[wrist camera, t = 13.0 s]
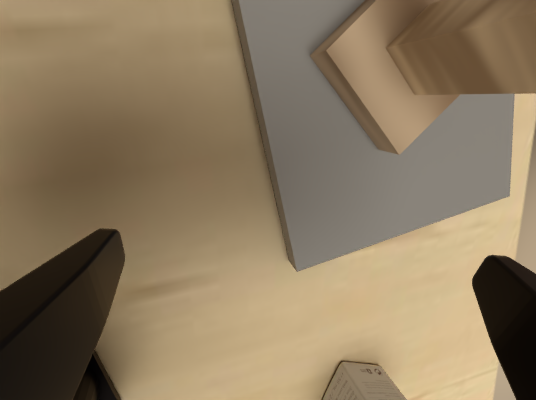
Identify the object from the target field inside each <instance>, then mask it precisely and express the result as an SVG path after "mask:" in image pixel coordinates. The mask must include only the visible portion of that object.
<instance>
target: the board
mask: <svg viewBox="0 0 536 400" xmlns="http://www.w3.org/2000/svg"><path fill="white" fill-rule="evenodd" d="M364 1H365V0H232V5H233V9H234V14H235V18H236V23H237V27H238V32H239V36H240V41H241V45H242V50H243V54H244V59H245V63H246V68H247V72H248V77H249V81H250V86H251V90H252V95H253V99H254V104H255V108H256V113H257V117H258V122H259V127H260V131H261V136H262V140H263V145H264V149H265V154H266V158H267V163H268V167H269V172H270V176H271V181H272V185H273V190H274V194H275V199H276V203H277V208H278V212H279V217H280V221H281V226H282V230H283V235H284V239H285V244H286V248H287V253H288V257H289V261H290V263H291V264H292V265H293V267H294V268H295V270H296V271H297V272H298V271H301V270H303V269H306V268H309V267H312V266H315V265H317V264H320V263H323V262H326V261H329V260H331V259H334V258H337V257H340V256H343V255H346V254H348V253H351V252H354V251H357V250H360V249H362V248H365V247H368V246H371V245H374V244H376V243H379V242H382V241H385V240H388V239H390V238H393V237H396V236H399V235H402V234H405V233H407V232H410V231H413V230H416V229H419V228H421V227H424V226H427V225H430V224H433V223H435V222H438V221H441V220H444V219H447V218H450V217H452V216H455V215H458V214H461V213H464V212H466V211H469V210H472V209H475V208H478V207H480V206H483V205H486V204H489V203H492V202H495V201H497V200H500V199H503V198H506V197H509V196H510V178H511V157H512V136H513V115H514V94H460V95H459V96H458V97H457V98H456V99H455V100H454V101H453V102H452V103H451V104H450V105H449V106H448V107H447V108H446V109H445V110H444V111H443V112H442V113H441V114H440V115H439V116H438V117H437V118H436V119H435V120H434V121H433V122H432V123H431V124H430V125H429V126H428V127H427V128H426V129H425V130H424V131H423V132H422V133H421V134H420V135H419V136H418V137H417V138H416V139H415V140H414V141H413V142H412V143H411V144H410V145H409V146H408V147H407V148H406V149H405V150H404V151H403V152H402V153H401V154H400V155H398V154H394V153H390V152H386V151H382V150H378V148H377V147H376V145H375V144H374V143H373V141H372V140H371V139H370V137H369V136H368V135H367V133H366V132H365V130H364V129H363V128H362V126H361V125H360V124H359V122H358V121H357V120H356V118H355V117H354V115H353V114H352V113H351V111H350V110H349V109H348V107H347V106H346V105H345V103H344V102H343V100H342V99H341V98H340V96H339V95H338V94H337V92H336V91H335V90H334V88H333V87H332V85H331V84H330V83H329V81H328V80H327V79H326V77H325V76H324V75H323V73H322V72H321V70H320V69H319V68H318V66H317V65H316V64H315V62H314V61H313V60H312V58H311V57H310V55H311V54H312V53H313V52H314V51H315V50H316V49H317V48H318V47H319V46H320V45H321V44H322V43H323V42H324V41H325V40H326V39H327V38H328V37H329V36H330V35H331V34H332V33H333V32H334V31H335V30H336V29H337V28H338V27H339V26H340V25H341V24H342V23H343V22H344V21H345V20H346V19H347V18H348V17H349V16H350V15H351V14H352V13H353V12H354V11H355V10H356V9H357V8H358V7H359V6H360V5H361V4H362V3H363V2H364Z"/></svg>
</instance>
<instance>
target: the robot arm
mask: <svg viewBox="0 0 536 400" xmlns="http://www.w3.org/2000/svg"><path fill="white" fill-rule="evenodd" d="M124 262H125V253H124V248H123V244H122V240H121V236H120V233H119V231H118V230H116V229H98V230H96V231H95V232H93V233H92V234H90V235H88V236H87V237H85V238H84V239H82V240H80V241H79V242H77V243H76V244H74V245H73V246H71V247H69V248H68V249H66V250H65V251H63V252H61V253H60V254H58V255H57V256H55V257H54V258H52V259H50V260H49V261H47V262H46V263H44V264H43V265H41V266H39V267H38V268H36V269H35V270H33V271H31V272H30V273H28V274H27V275H25V276H24V277H22V278H20V279H19V280H17V281H16V282H14V283H12V284H11V285H9V286H8V287H6V288H5V289H3V290H1V291H0V400H120V398H119V396H118V394H117V392H116V390H115V388H114V386H113V384H112V382H111V381H110V379H109V377H108V375H107V373H106V371H105V369H104V367H103V365H102V363H101V361H100V359H99V357H98V356H97V354H96V352H95V350H94V349H95V347H96V345H97V342H98V340H99V338H100V335H101V333H102V331H103V328H104V326H105V323H106V321H107V318H108V315H109V312H110V308H111V305H112V302H113V299H114V295H115V292H116V289H117V286H118V282H119V279H120V276H121V273H122V269H123V266H124ZM472 286H473V289H474V292H475V295H476V298H477V301H478V304H479V307H480V310H481V313H482V316H483V320H484V323H485V326H486V329H487V332H488V335H489V337H490V340H491V343H492V345H493V348H494V350H495V353H496V355H497V357H498V360H499V362H500V364H501V366H502V368H503V371H504V373H505V375H506V378H507V380H508V382H509V384H510V387H511V389H512V391H513V393H514V396H515V398H516V400H536V274H535V273H534V272H532V271H530V270H529V269H527V268H525V267H524V266H522V265H521V264H519V263H517V262H516V261H514V260H513V259H511V258H509V257H507V256H498V255H490V256H488V257H486V258H485V259H484V261H483V262H482V264H481V266H480V267H479V269H478V270H477V272H476V273H475V275H474V276H473V279H472Z"/></svg>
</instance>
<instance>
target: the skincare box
mask: <svg viewBox="0 0 536 400" xmlns="http://www.w3.org/2000/svg"><path fill="white" fill-rule="evenodd" d="M323 400H407V399H406V398H405V397H404V396H403V394H402V393H401V392H400V390H399V389H398V388H397V387H396V385H395V384H394V383H393V381H392V380H391V379H390V378H389V376H388V375H387V374H386V372H385V371H384V370H383V368H382V367H381V366H377V365H371V364H363V363H355V362H342V363H341V364H340V365H339V367H338V369H337V371H336V373H335V375H334V377H333V379H332V381H331V383H330V385H329V387H328V389H327V391H326V393H325V395H324V398H323Z"/></svg>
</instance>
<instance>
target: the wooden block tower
mask: <svg viewBox="0 0 536 400" xmlns="http://www.w3.org/2000/svg"><path fill="white" fill-rule="evenodd" d="M310 57H311V58H312V60H313V61H314V62H315V64H316V65H317V66H318V68H319V69H320V70H321V72H322V73H323V75H324V76H325V77H326V79H327V80H328V81H329V83H330V84H331V85H332V87H333V88H334V90H335V91H336V92H337V94H338V95H339V96H340V98H341V99H342V100H343V102H344V103H345V105H346V106H347V107H348V109H349V110H350V111H351V113H352V114H353V115H354V117H355V118H356V120H357V121H358V122H359V124H360V125H361V126H362V128H363V129H364V130H365V132H366V133H367V135H368V136H369V137H370V139H371V140H372V141H373V143H374V144H375V145H376V147H377V148H378V150H382V151H386V152H390V153H394V154H398V155H400V154H401V153H402V152H403V151H404V150H405V149H406V148H407V147H408V146H409V145H410V144H411V143H412V142H413V141H414V140H415V139H416V138H417V137H418V136H419V135H420V134H421V133H422V132H423V131H424V130H425V129H426V128H427V127H428V126H429V125H430V124H431V123H432V122H433V121H434V120H435V119H436V118H437V117H438V116H439V115H440V114H441V113H442V112H443V111H444V110H445V109H446V108H447V107H448V106H449V105H450V104H451V103H452V102H453V101H454V100H455V99H456V98H457V97H458V96H459V95H460V94H521V93H536V0H365V1H364V2H363V3H362V4H361V5H360V6H359V7H358V8H357V9H356V10H355V11H354V12H353V13H352V14H351V15H350V16H349V17H348V18H347V19H346V20H345V21H344V22H343V23H342V24H341V25H340V26H339V27H338V28H337V29H336V30H335V31H334V32H333V33H332V34H331V35H330V36H329V37H328V38H327V39H326V40H325V41H324V42H323V43H322V44H321V45H320V46H319V47H318V48H317V49H316V50H315V51H314V52H313V53H312V54H311V55H310Z"/></svg>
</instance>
